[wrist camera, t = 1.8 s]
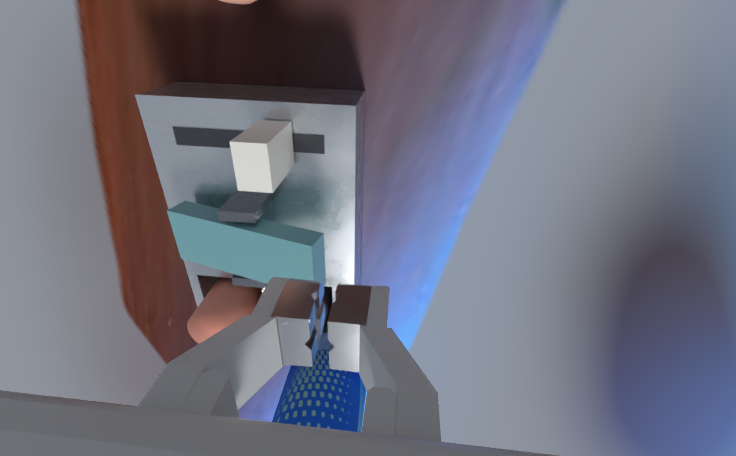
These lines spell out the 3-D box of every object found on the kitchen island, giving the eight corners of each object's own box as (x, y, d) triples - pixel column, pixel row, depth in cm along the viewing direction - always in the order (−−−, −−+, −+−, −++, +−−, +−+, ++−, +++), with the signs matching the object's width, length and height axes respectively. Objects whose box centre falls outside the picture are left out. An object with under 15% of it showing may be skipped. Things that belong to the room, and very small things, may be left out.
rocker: (185, 200, 26) (166, 210, 24) (323, 232, 22) (311, 246, 21) (197, 247, 28) (181, 258, 26) (326, 283, 24) (314, 297, 23)
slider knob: (259, 120, 22) (229, 141, 19) (291, 121, 22) (266, 143, 18) (265, 162, 24) (237, 190, 20) (294, 164, 24) (272, 193, 20)
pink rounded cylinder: (217, 262, 32) (181, 309, 27) (265, 266, 32) (237, 315, 27) (226, 299, 35) (194, 349, 29) (270, 303, 34) (246, 354, 29)
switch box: (178, 81, 27) (94, 106, 20) (364, 90, 26) (347, 120, 19) (229, 301, 38) (187, 368, 31) (360, 314, 37) (348, 386, 30)
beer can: (302, 378, 44) (253, 544, 30) (291, 328, 39) (228, 496, 26) (371, 382, 43) (353, 555, 29) (367, 331, 38) (343, 507, 25)
